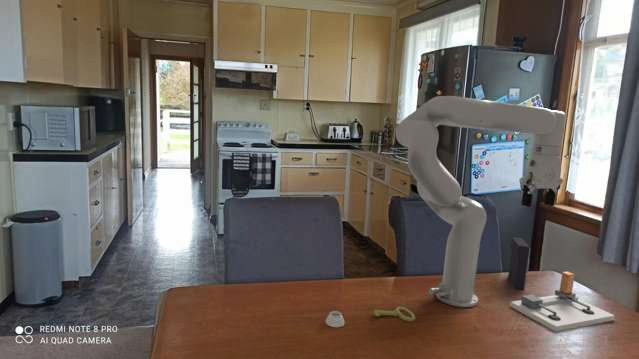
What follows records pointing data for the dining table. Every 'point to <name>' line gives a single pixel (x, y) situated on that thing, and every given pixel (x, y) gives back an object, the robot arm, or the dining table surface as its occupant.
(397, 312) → the key
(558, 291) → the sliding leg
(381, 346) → the dining table surface
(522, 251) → the calculator
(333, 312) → the white jar
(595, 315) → the gauge board
